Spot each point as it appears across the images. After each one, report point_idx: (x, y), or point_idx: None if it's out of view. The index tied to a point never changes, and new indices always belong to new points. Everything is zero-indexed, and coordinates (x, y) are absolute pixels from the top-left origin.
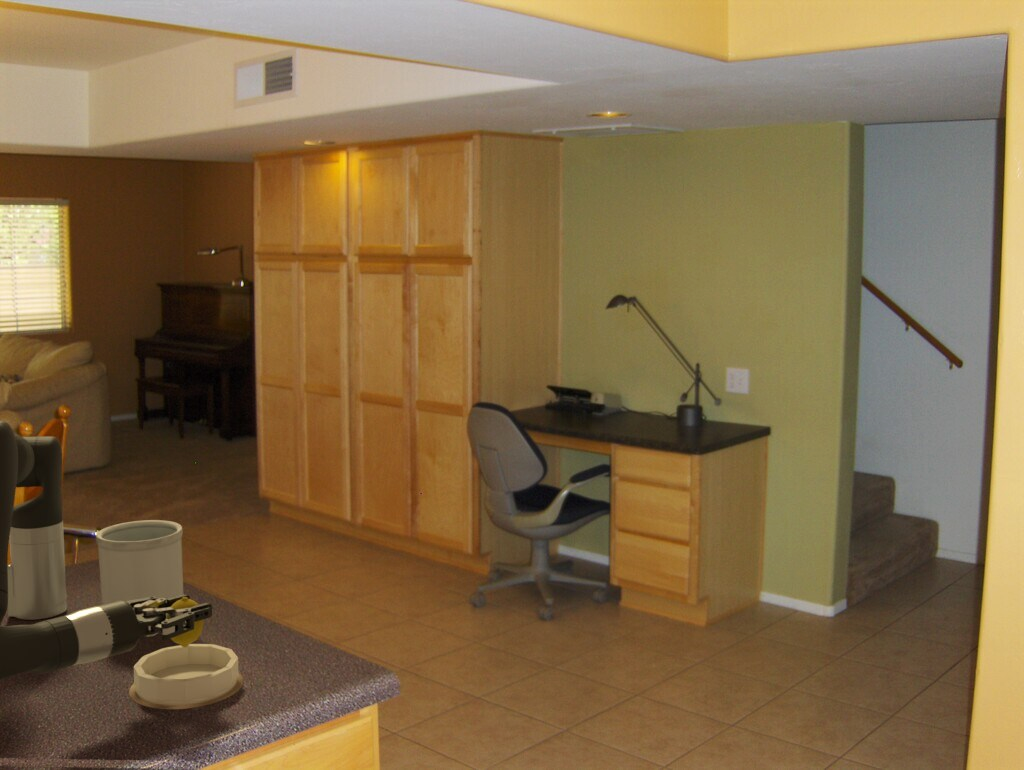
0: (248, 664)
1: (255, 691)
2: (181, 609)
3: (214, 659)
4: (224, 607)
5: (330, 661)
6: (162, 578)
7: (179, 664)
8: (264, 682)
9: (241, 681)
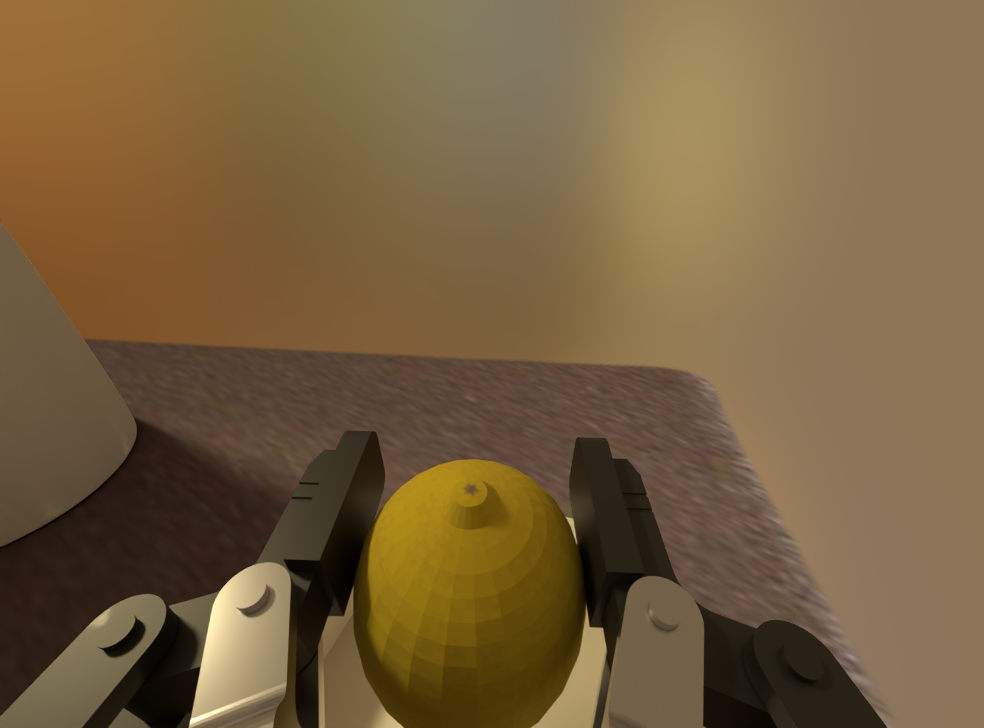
0: None
1: None
2: (634, 649)
3: None
4: (203, 353)
5: (577, 387)
6: (6, 354)
7: (341, 628)
8: None
9: None
